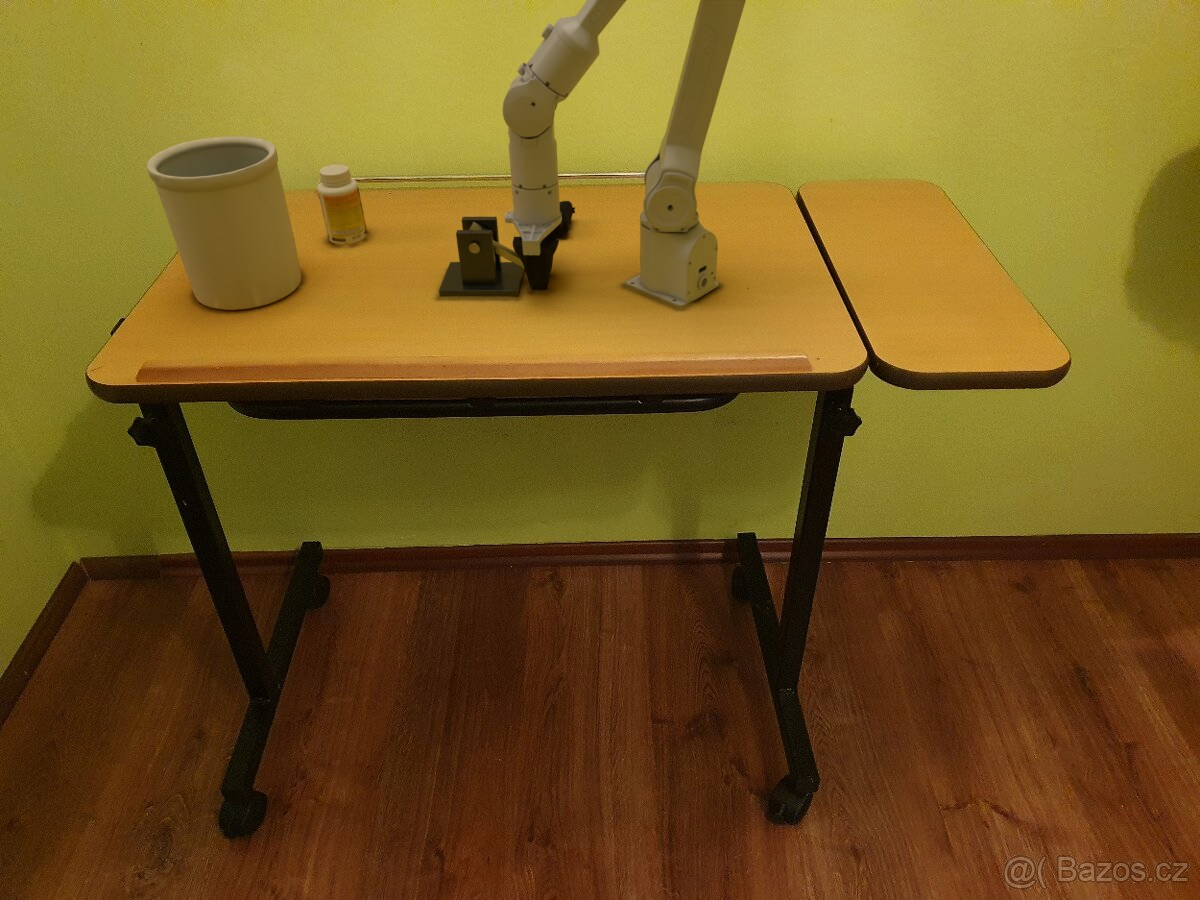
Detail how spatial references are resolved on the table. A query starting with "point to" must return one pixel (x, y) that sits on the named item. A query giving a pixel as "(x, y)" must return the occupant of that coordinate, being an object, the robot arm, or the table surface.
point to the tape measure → (566, 216)
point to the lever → (501, 248)
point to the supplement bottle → (341, 205)
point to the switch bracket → (480, 264)
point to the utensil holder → (229, 220)
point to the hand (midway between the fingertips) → (541, 281)
